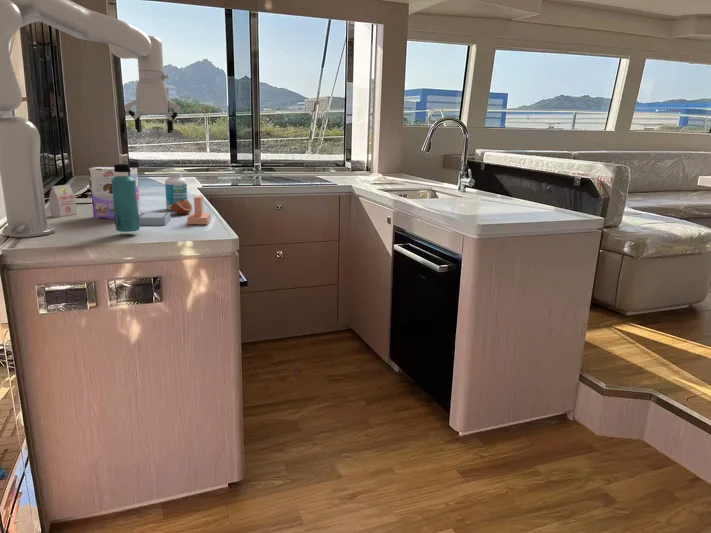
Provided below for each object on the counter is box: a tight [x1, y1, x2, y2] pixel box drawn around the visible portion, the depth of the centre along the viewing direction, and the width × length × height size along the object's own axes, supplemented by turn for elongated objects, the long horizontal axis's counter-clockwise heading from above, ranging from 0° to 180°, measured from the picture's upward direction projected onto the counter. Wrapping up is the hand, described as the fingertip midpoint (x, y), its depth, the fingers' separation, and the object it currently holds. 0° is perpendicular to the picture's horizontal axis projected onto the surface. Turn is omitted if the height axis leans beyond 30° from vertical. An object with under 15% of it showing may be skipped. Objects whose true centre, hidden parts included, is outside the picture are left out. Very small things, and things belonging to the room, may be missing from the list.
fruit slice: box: [170, 198, 193, 215], centre depth 187 cm, size 8×7×5 cm
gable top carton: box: [48, 184, 78, 219], centre depth 177 cm, size 4×7×10 cm, turn 158°
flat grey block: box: [139, 212, 172, 226], centre depth 171 cm, size 9×11×2 cm
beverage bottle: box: [111, 163, 141, 233], centre depth 150 cm, size 6×7×20 cm
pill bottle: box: [164, 171, 188, 211], centre depth 195 cm, size 8×7×14 cm
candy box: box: [87, 166, 142, 220], centre depth 175 cm, size 14×6×16 cm, turn 84°
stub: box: [186, 195, 212, 225], centre depth 172 cm, size 9×6×8 cm, turn 8°
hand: (154, 132), depth 177 cm, fingers open, 9 cm apart
